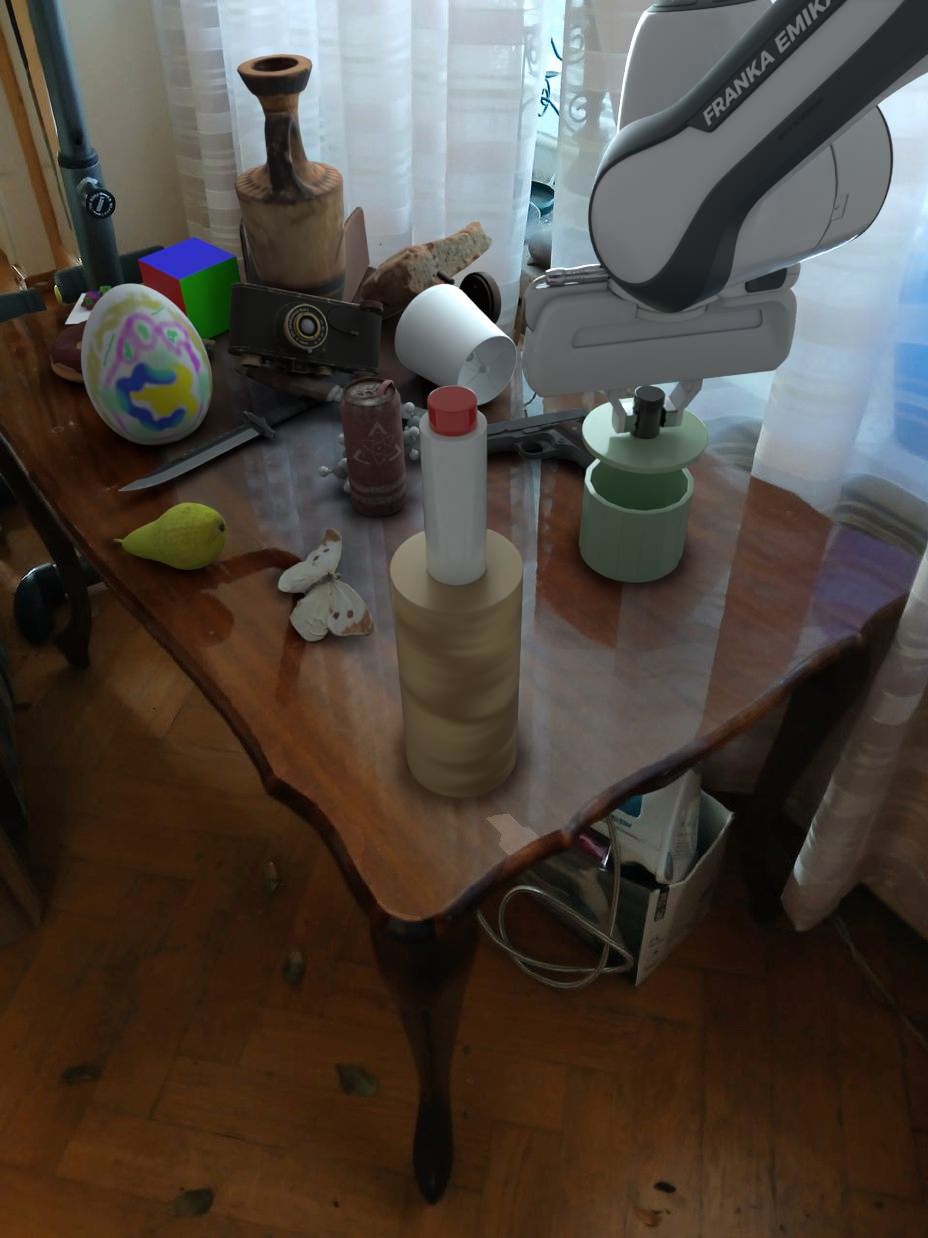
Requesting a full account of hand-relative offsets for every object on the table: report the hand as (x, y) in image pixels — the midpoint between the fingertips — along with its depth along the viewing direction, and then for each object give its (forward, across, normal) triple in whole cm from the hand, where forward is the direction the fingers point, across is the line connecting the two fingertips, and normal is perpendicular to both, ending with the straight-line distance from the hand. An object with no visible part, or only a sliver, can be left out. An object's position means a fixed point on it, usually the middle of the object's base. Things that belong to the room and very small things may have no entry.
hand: (646, 425), depth 78 cm
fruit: (+9, -35, +5) cm, 36 cm away
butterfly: (+13, -27, -1) cm, 30 cm away
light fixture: (+8, -13, +42) cm, 45 cm away
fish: (+9, -42, +39) cm, 58 cm away
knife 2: (+12, -21, +27) cm, 36 cm away
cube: (+13, -37, +51) cm, 65 cm away
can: (+13, -21, +12) cm, 27 cm away
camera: (+3, -24, +35) cm, 43 cm away
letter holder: (+13, -23, +54) cm, 61 cm away
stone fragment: (+5, -4, +52) cm, 52 cm away
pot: (+13, 0, 0) cm, 13 cm away
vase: (+13, -25, +40) cm, 49 cm away
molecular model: (+11, -18, +15) cm, 26 cm away
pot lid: (+1, 0, 0) cm, 1 cm away
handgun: (+12, -5, +8) cm, 15 cm away
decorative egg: (+13, -41, +29) cm, 52 cm away
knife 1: (+12, -33, +21) cm, 41 cm away
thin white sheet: (+13, -49, +58) cm, 77 cm away
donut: (+13, -49, +43) cm, 66 cm away
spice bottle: (-5, -19, -19) cm, 27 cm away
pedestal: (+13, -19, -19) cm, 30 cm away
